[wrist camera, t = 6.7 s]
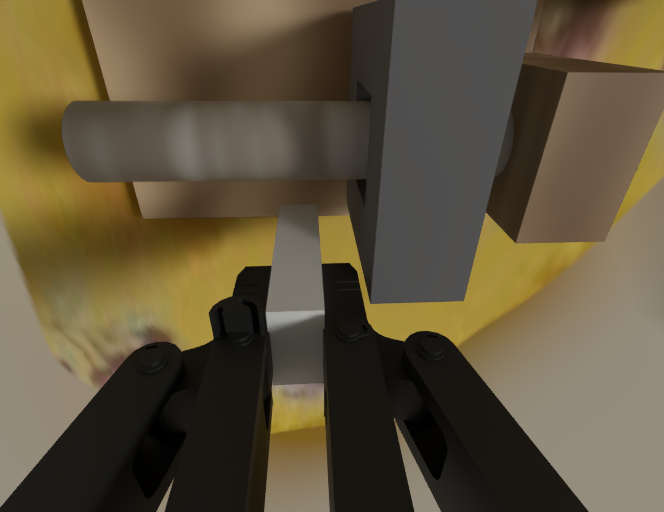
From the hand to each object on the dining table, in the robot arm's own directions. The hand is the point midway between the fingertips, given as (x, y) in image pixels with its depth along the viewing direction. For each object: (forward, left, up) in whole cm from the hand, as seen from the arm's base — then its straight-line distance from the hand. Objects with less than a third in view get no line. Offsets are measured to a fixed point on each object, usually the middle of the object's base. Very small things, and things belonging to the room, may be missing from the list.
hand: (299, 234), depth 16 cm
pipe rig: (-4, +1, -5) cm, 6 cm away
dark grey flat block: (-4, +4, -3) cm, 6 cm away
